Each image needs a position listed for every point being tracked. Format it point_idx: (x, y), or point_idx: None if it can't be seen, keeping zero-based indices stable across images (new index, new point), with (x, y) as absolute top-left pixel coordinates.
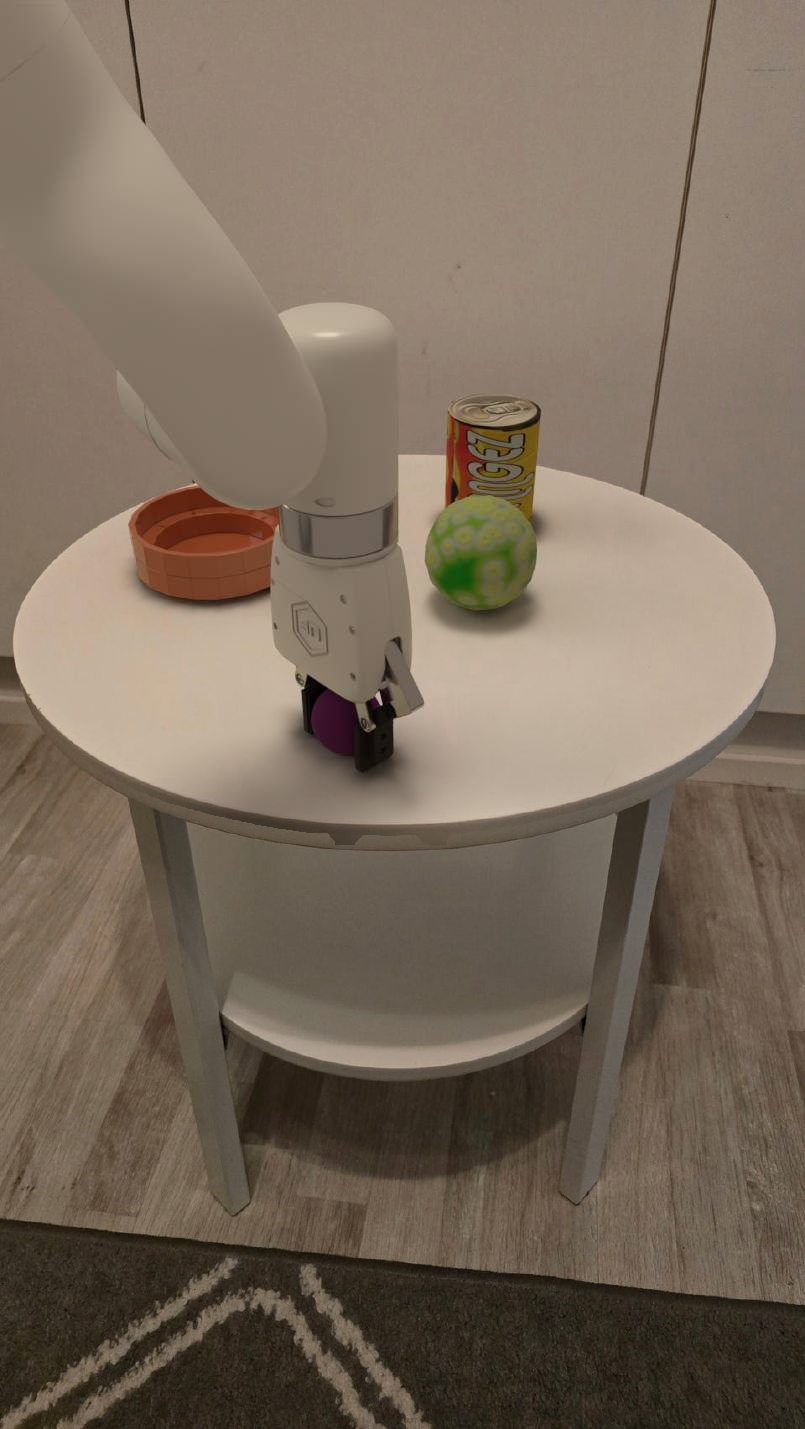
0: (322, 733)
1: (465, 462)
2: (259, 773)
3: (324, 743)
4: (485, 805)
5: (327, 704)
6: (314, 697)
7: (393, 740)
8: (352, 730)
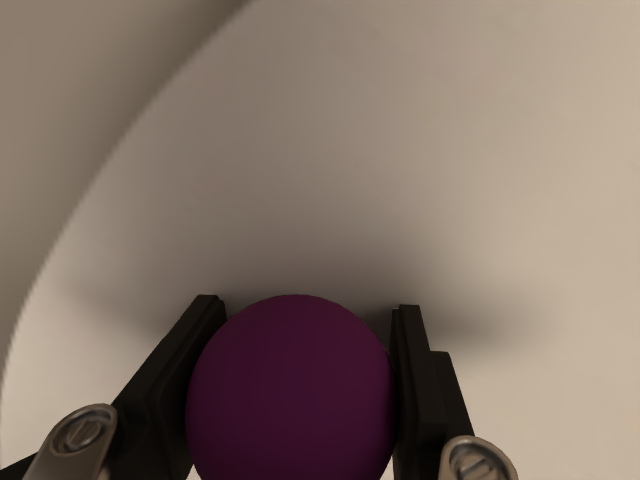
0: (272, 320)
1: None
2: (385, 112)
3: (280, 299)
4: (27, 373)
5: (278, 426)
6: (402, 416)
7: None
8: (192, 380)
